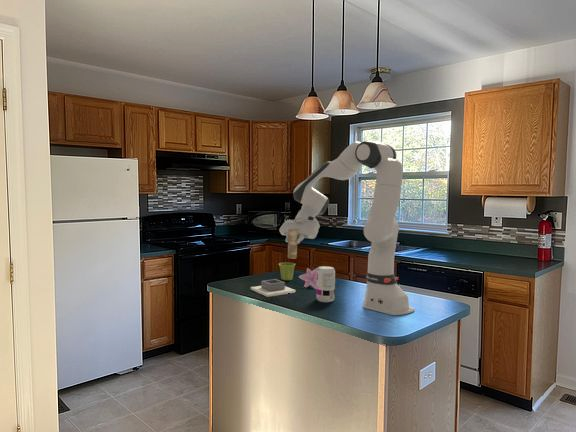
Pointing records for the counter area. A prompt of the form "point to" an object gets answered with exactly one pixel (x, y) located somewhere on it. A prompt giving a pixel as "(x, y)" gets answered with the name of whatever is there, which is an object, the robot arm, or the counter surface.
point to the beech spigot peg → (292, 243)
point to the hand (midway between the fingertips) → (291, 242)
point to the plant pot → (287, 270)
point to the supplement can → (325, 284)
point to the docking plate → (272, 288)
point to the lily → (310, 278)
